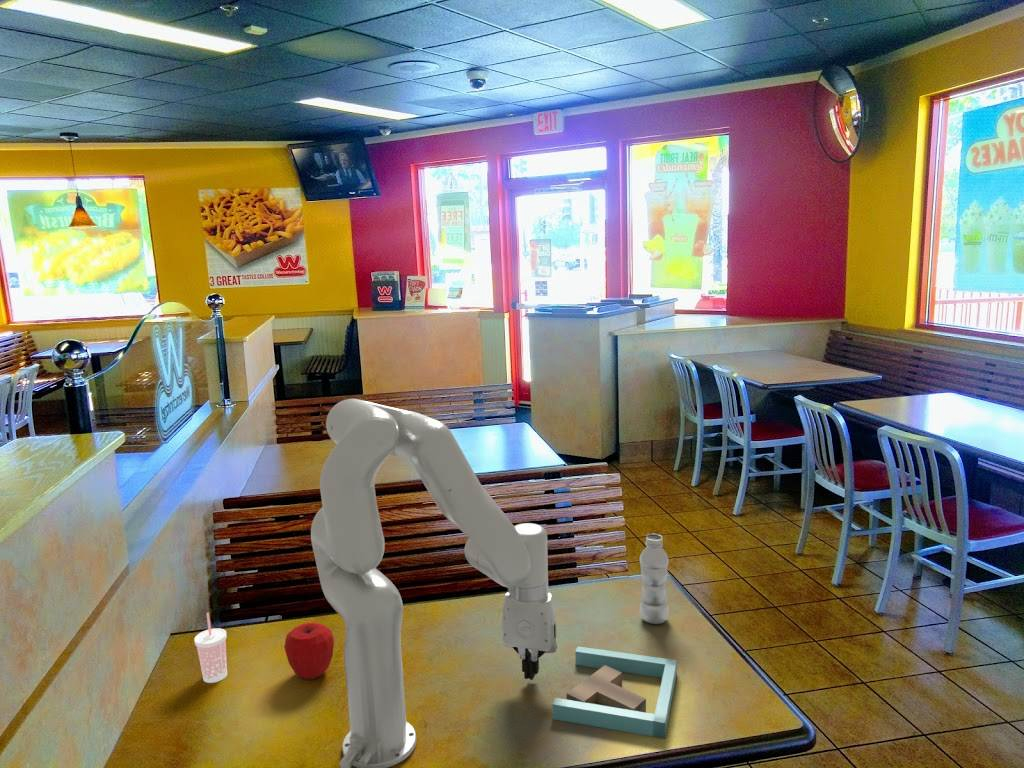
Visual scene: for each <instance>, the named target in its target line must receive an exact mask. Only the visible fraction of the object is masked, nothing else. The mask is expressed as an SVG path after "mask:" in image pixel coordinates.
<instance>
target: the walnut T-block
mask: <svg viewBox="0 0 1024 768" xmlns="http://www.w3.org/2000/svg"><path fill="white" fill-rule="evenodd" d="M566 700H573V701H579V702H585V703H591V704H597V705H603V706H609V707H615V708H621V709H627V710H633V711H639V712H645V713H647V698H645V697H644V696H641V695H639V694H637V693H635V692H632V691H630V690H629V689H626V688H624V687H623V672H620V671H617V670H615V669H613V668H610V667H608V666H606V665H604V666H603V667H602V668H598V670H596V671H595V672H594V673H592V674H591V675H589V676H588V677H587V678H585V679H583V681H581V682H580V683H579V684H577V685H576V686H574V687H572V688H571V689H570V690H569V691H567V692H566Z"/></svg>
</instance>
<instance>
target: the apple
mask: <svg viewBox="0 0 1024 768" xmlns="http://www.w3.org/2000/svg"><path fill="white" fill-rule="evenodd" d="M334 645H335V637H334V635H333V631H332V630H331V629H330V627H328V626H326V625H325V624H323V623H319V622H305V623H302V624H299V625H296V626H295V627H294V628H292V629H291V631H289V632H288V633H287V634H286V637H285V641H284V647H283V648H284V651H285V656H286V659H287V662H288V664H289V666H290V667H291V669H292V670H293V672H294V674H295V675H297V676H298V677H301V678H302V679H304V680H308V679H309V680H314V679H317V678H318V677H320V676H321V675H322V674H324V673H325V672H326V671H327V670H328V669H329V667H330V664H331V662H332V659H333V656H334V647H335V646H334Z"/></svg>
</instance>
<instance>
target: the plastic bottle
mask: <svg viewBox="0 0 1024 768" xmlns="http://www.w3.org/2000/svg"><path fill="white" fill-rule="evenodd" d="M663 540H664V539H663V535H660V534H657V533H650V534H646V537H645V546H646V547H645V548H644V549H643V550H642V551H641V553H640V555H639V566H640V572H641V573H640V574H641V581H642V582H641V584H642V586H641V598H640V603H639V614H640V617H641V618H642V620H643V621H644V622H646V623H648V624H652V625H659V624H663V623H665V622H666V621H667V619H668V618H669V612H670V611H669V610H670V609H669V604H668V597H667V596H668V595H667V575H668V569H669V556H668V554H667V552H666V550H665V549H664V548H663V545H664V543H663Z"/></svg>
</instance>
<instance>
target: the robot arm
mask: <svg viewBox="0 0 1024 768" xmlns="http://www.w3.org/2000/svg"><path fill="white" fill-rule="evenodd" d="M325 425H326V432H327V435H328V436H329V438H330V439H331V441H332V442H334V444H335V445H334V447H333V448H332V450H331V451H330V453H329V454H328V456H327V458H326V460H325V462H324V463H323V467H322V468H321V471H320V477H319V491H320V496H321V497H320V499H321V504H322V505H321V506H322V507H321V508H320V509H318V511H317V512H316V514H315V515H314V517H313V520H312V523H311V529H310V540H311V546H312V551H313V554H314V559H315V560H314V561H315V564H316V569H317V573H318V578H319V582H320V586H321V590H322V592H323V595H324V597H325V599H326V600H327V602H328V604H330V606H331V607H332V608H333V610H335V612H336V613H337V614H338V615H339V616H340V618H341V619H342V622H344V623H343V624H344V626H345V638H344V644H343V645H344V646H343V661H344V670H345V681H346V693H347V705H348V706H347V707H348V717H349V732H348V733H347V734H346V735H345V737H344V739H343V741H342V744H341V745H342V746H341V747H342V754H343V757H342V758H341V760H339V763H338V764H339V767H340V768H352V766H353V767H355V768H390V767H393V766H396V765H397V764H400V763H401V762H403V761H404V760H406V759H407V758H408V757H410V755H411V754H412V753H413V752H414V750H415V748H416V745H417V733H416V729H415V728H414V727H413V725H412V724H410V723H409V722H408V721H407V716H406V715H407V714H406V712H407V711H406V700H405V685H404V670H403V659H402V642H401V639H402V623H403V615H404V604H403V600H402V596H401V594H400V592H399V590H398V589H397V587H396V586H395V584H393V582H392V581H391V580H390V579H389V578H388V577H387V576H386V575H384V573H382V572H381V571H380V570H378V569H377V567H378V566H379V565H380V563H381V562H382V560H383V556H384V553H385V548H386V547H385V536H384V532H383V528H382V527H383V526H382V523H381V516H380V512H379V508H378V507H379V506H378V503H377V496H376V495H377V494H376V489H375V488H376V477H377V474H378V472H379V470H380V468H381V466H382V465H383V464H384V462H385V461H386V460H387V459H388V458H389V457H390V456H395V457H399V458H402V459H404V460H406V461H408V462H409V463H410V464H411V465H412V467H413V468H414V471H416V474H417V475H418V476H419V479H420V480H421V481H422V483H423V485H424V487H425V488H426V490H427V492H428V493H429V496H430V497H431V499H432V500H433V502H434V503H435V504H436V507H437V509H438V510H439V511H440V512H441V513H442V515H443V516H444V517H445V518H446V519H447V520H448V521H449V522H450V523H452V525H454V526H455V527H456V528H458V529H459V531H461V532H462V533H463V534H464V535H466V537H467V538H468V539H467V540H466V542H465V545H464V557H465V558H466V560H467V562H468V563H469V564H470V565H471V566H472V567H473V568H475V569H476V570H477V571H479V572H481V573H482V574H483V575H486V576H487V577H488V578H490V579H491V580H492V581H494V582H495V583H497V584H499V585H500V586H501V587H505V588H507V592H506V593H505V595H504V598H503V604H502V605H503V607H502V614H501V615H502V616H501V632H500V634H501V641H502V644H503V645H504V646H506V647H509V648H513V650H514V651H515V652H516V653H517V655H519V656H518V657H519V659H520V660H521V672H523V673H524V674H523V675H524V676H523V678H524V680H530V681H533V680H534V678H535V676H536V675H537V674H538V673H539V671H540V664H539V663H540V662H539V660H540V658H541V657H542V656H544V654H553V653H556V652H557V649H558V645H557V642H556V639H557V635H558V634H557V617H556V611H555V605H554V599H553V596H552V593H551V592H549V574H548V573H549V571H548V569H549V567H548V566H549V565H548V563H549V561H548V559H549V558H548V555H549V554H548V533H547V531H546V529H545V527H543V526H542V525H540V524H537V523H532V522H525V523H524V522H523V523H518V524H516V525H514V524H513V523H512V522H511V520H510V519H509V517H508V516H507V515H506V513H505V512H504V511H503V510H502V509H501V507H500V506H499V505H498V503H496V501H495V500H494V499H493V498H492V496H491V495H490V493H489V492H488V491H487V490H486V489H485V487H483V484H482V483H481V482H480V480H479V478H478V477H477V475H476V473H475V472H474V470H473V468H472V466H471V465H470V463H469V461H468V459H467V457H466V456H465V454H464V452H463V450H462V449H461V447H460V445H459V443H458V442H457V441H458V440H457V439H456V437H455V436H454V434H453V432H452V431H451V430H450V428H449V427H448V426H447V425H446V424H445V423H443V422H441V421H440V420H438V419H435V418H432V417H430V416H428V415H425V414H422V413H419V412H416V411H410V410H406V409H400V408H395V407H392V406H388V405H383V404H378V403H375V402H371V401H367V400H362V399H357V398H348V399H343V400H341V401H339V402H338V403H336V404H335V405H334V406H333V407H332V408H331V409H330V410H329V412H328V413H327V416H326V421H325ZM530 650H531V651H530Z"/></svg>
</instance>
